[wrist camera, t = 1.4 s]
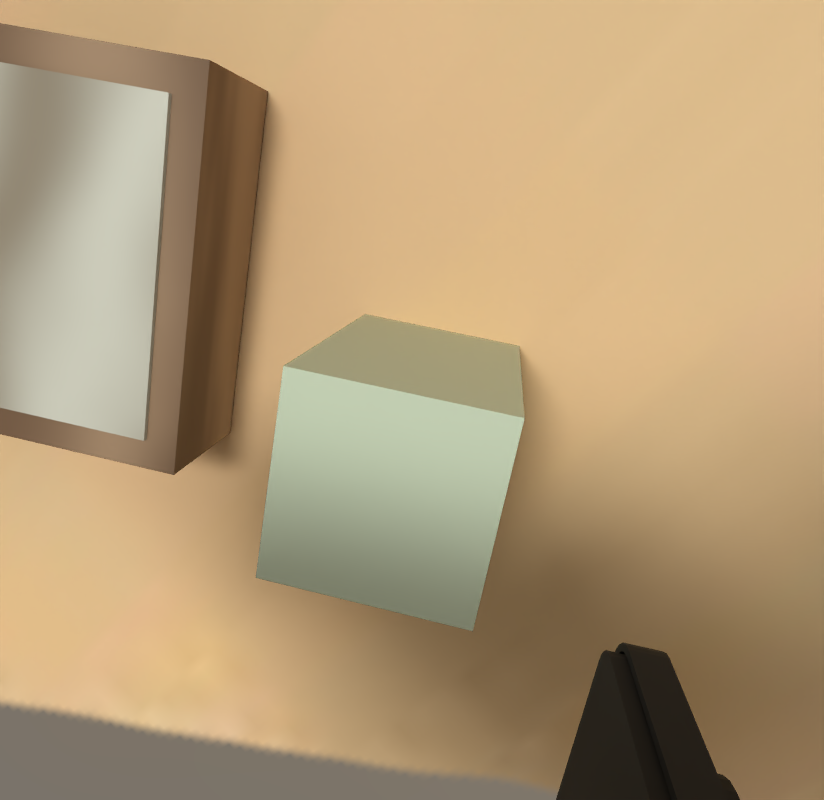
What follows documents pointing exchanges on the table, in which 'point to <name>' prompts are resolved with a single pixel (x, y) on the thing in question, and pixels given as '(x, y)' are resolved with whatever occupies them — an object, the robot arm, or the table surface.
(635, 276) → the table surface
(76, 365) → the base block
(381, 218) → the table surface
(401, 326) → the green block
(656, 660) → the robot arm
